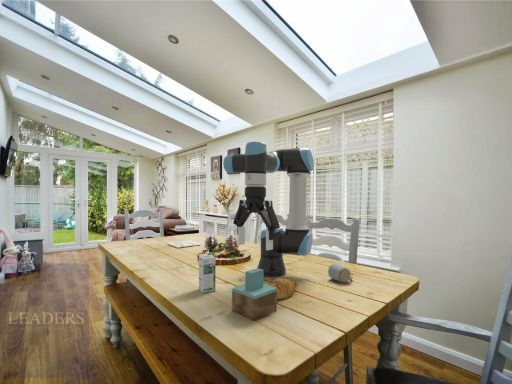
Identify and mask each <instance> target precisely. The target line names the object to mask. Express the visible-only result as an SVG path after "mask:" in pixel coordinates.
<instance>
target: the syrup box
mask: <svg viewBox="0 0 512 384" xmlns="http://www.w3.org/2000/svg"><path fill="white" fill-rule="evenodd" d="M198 289H199V290H200V292H201V293H202V294H205V293H209V292H216V256H215V255H214V254H205V255H199V256H198Z"/></svg>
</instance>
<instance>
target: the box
mask: <svg viewBox="0 0 512 384" xmlns="http://www.w3.org/2000/svg"><path fill="white" fill-rule="evenodd" d="M231 293H232V295H231V297H232V298H231V311H232V312H234V313H235V314H237V315H240V316H242V317H245V318H247V319H249V320H251V321H254V322H256V321H258V320H260V319H262V318H265V317H266V316H269V315H271V314H273V313H275V312H277V311H278V310H277V307H278V306H277V305H278V303H277V302H278V300H277V291H275V292H272V293H270V294H267V295H264V296H262V297H259V298H257V299H253V298H250V297H248V296H245V295H242V294H240V293H237V292H234V291H232V290H231Z"/></svg>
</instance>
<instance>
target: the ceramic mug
mask: <svg viewBox="0 0 512 384" xmlns="http://www.w3.org/2000/svg"><path fill="white" fill-rule="evenodd" d="M327 271H328V272H327V273H328V277H329V278H331V279H333V280H335V281H337V282H339V283H342V284H343V283H347V282H348V281H352V280H353V276H351V271H350V269H348V268H347V267H346V266H343V265H342V264H340V263H336V262H334V263H331V265H329V268H328V270H327Z"/></svg>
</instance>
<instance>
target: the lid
mask: <svg viewBox="0 0 512 384" xmlns="http://www.w3.org/2000/svg"><path fill="white" fill-rule="evenodd" d="M264 279H265V276H264V270H262V269H258V268H255V269H254V268H253V269H250V270H246V271H245V280H244V281H245V283H244V284H243V283H242V284H241V285H238V286H233V287H232V290H231V292H232V291H234V292H237V293H240V294H242V295H245V296H248V297H250V298H253V299H257V298H259V297H262V296H264V295H267V294H270V293H272V292H275V291H277V288H275V287H272V286H270V284H269V285H268V284H265V283H264Z"/></svg>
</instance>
